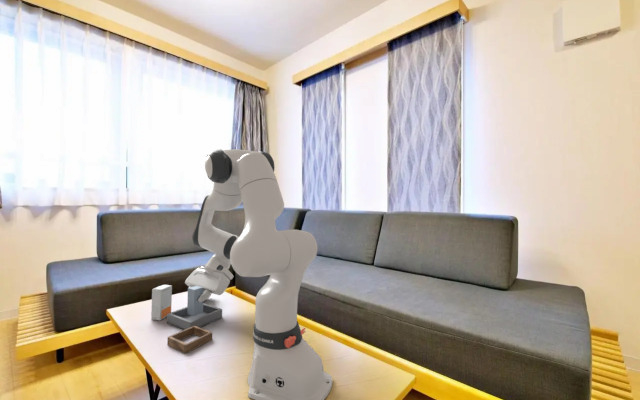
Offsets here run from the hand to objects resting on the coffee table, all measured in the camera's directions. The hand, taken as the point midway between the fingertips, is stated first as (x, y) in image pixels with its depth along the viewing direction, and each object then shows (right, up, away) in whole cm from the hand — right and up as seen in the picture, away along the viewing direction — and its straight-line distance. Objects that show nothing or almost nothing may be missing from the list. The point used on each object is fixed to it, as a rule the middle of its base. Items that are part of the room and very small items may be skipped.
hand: (194, 300), depth 104 cm
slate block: (0, -5, +1) cm, 5 cm away
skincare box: (-14, -8, +3) cm, 17 cm away
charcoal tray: (0, -8, +1) cm, 8 cm away
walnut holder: (+6, -8, -16) cm, 19 cm away
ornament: (-7, -8, +21) cm, 23 cm away
